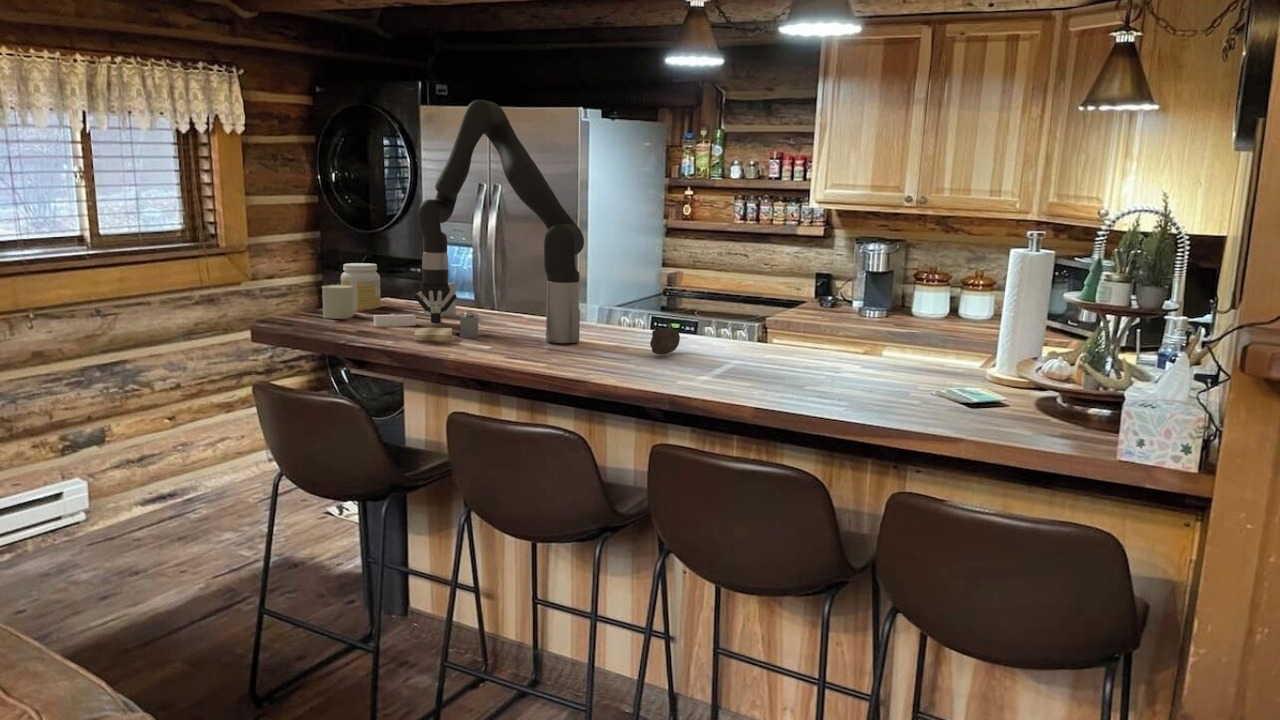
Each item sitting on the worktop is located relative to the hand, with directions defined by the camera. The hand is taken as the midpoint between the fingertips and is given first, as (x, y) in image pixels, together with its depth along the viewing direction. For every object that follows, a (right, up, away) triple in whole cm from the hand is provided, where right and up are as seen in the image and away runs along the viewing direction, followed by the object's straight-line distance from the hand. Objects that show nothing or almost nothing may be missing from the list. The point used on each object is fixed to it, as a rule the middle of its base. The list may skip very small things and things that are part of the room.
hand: (435, 325), depth 286 cm
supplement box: (-2, +1, +14) cm, 14 cm away
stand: (+4, -5, -20) cm, 21 cm away
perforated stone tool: (+68, -9, -27) cm, 74 cm away
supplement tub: (-29, +3, +23) cm, 37 cm away
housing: (+12, -3, -9) cm, 15 cm away
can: (-31, 0, +4) cm, 31 cm away
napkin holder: (-11, -3, -6) cm, 13 cm away
